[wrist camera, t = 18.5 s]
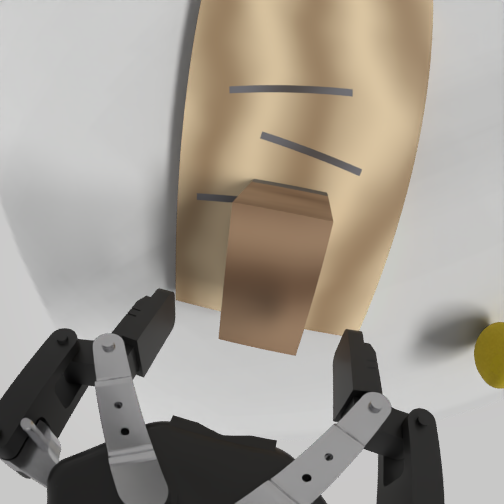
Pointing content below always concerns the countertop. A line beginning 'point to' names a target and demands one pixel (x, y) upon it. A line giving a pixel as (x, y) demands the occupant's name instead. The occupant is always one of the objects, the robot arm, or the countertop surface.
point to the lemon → (491, 354)
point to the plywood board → (303, 133)
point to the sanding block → (273, 264)
